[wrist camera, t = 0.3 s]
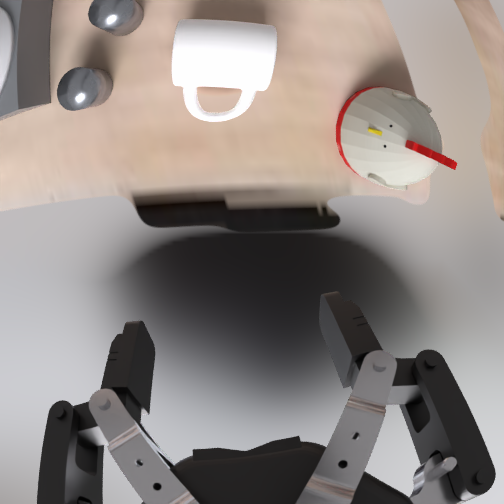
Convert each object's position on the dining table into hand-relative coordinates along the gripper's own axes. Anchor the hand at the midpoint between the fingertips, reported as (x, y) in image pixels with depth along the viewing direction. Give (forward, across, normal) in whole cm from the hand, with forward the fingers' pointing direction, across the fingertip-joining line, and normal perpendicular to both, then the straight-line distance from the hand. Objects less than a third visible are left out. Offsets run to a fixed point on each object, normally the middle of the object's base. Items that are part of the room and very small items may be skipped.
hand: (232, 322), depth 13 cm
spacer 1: (+28, +14, -13) cm, 34 cm away
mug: (+28, -2, -11) cm, 31 cm away
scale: (+28, +29, -23) cm, 47 cm away
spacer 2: (+28, +9, -22) cm, 37 cm away
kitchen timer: (+28, -23, -2) cm, 36 cm away
